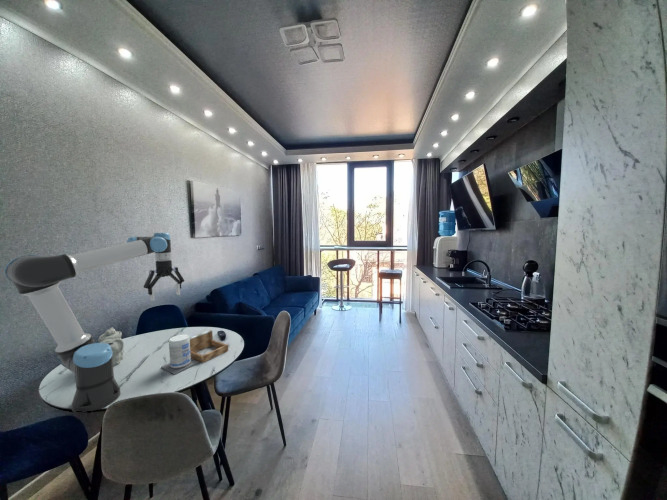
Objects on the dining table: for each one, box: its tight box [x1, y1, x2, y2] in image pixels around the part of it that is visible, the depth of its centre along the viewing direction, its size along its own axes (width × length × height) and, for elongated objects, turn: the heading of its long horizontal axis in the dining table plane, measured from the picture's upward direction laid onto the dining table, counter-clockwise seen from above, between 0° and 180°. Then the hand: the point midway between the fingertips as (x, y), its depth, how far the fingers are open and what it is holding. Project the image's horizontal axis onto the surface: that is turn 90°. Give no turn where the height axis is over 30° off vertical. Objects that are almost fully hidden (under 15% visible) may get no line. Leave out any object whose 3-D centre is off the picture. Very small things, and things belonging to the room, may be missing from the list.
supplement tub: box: [168, 333, 192, 368], centre depth 135 cm, size 10×10×15 cm
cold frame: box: [189, 329, 229, 364], centre depth 148 cm, size 16×17×10 cm
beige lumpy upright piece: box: [98, 327, 125, 367], centre depth 137 cm, size 16×15×19 cm
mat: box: [160, 358, 200, 376], centre depth 135 cm, size 13×13×1 cm
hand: (165, 297), depth 143 cm, fingers open, 13 cm apart
